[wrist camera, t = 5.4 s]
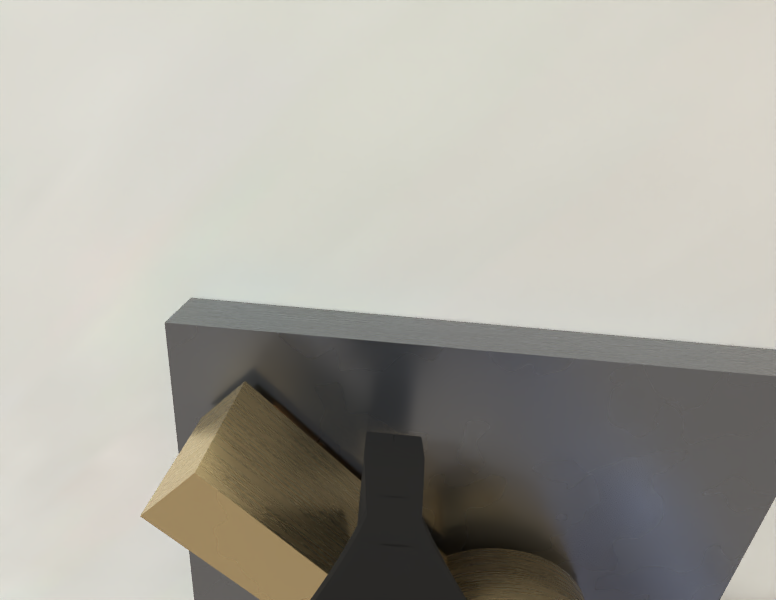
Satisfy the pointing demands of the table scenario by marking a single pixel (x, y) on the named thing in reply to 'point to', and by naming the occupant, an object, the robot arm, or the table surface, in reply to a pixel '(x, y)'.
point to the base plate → (516, 433)
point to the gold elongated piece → (298, 511)
